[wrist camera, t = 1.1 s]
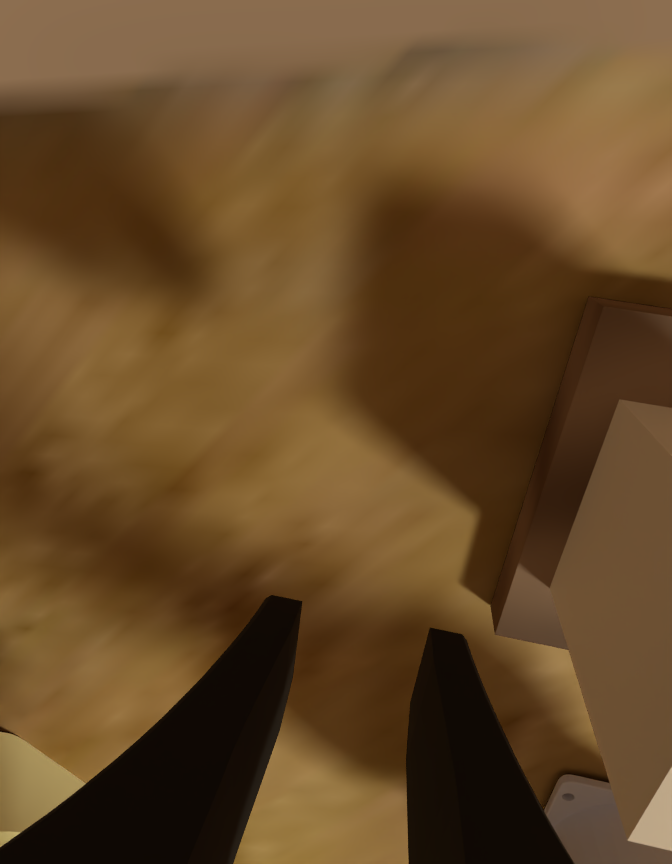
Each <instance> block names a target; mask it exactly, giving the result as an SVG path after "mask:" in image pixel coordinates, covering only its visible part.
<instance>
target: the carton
mask: <svg viewBox="0 0 672 864" xmlns="http://www.w3.org/2000/svg"><path fill="white" fill-rule="evenodd" d="M550 591H551V594H552V598H553V601H554V604H555V607H556V611H557V614H558V617H559V620H560V624H561V627H562V630H563V633H564V637H565V640H566V643H567V646H568V650H569V653H570V656H571V659H572V662H573V666H574V669H575V672H576V675H577V679H578V682H579V685H580V688H581V692H582V695H583V698H584V701H585V705H586V708H587V711H588V714H589V718H590V721H591V724H592V727H593V731H594V734H595V737H596V740H597V744H598V747H599V750H600V753H601V757H602V760H603V763H604V766H605V770H606V773H607V776H608V779H609V782H610V786H611V789H612V792H613V795H614V799H615V802H616V805H617V808H618V812H619V815H620V818H621V821H622V825H623V828H624V831H625V834H626V838H627V841H631V842H636V843H640V844H644V845H648V846H653V847H657V848H661V849H666V850H670V851H672V408H669V407H663V406H657V405H651V404H645V403H639V402H633V401H627V400H620V399H619V402H618V404H617V407H616V410H615V413H614V415H613V418H612V421H611V423H610V426H609V429H608V432H607V434H606V437H605V440H604V442H603V445H602V448H601V450H600V453H599V456H598V459H597V461H596V464H595V467H594V469H593V472H592V475H591V477H590V480H589V483H588V486H587V488H586V491H585V494H584V496H583V499H582V502H581V505H580V507H579V510H578V513H577V515H576V518H575V521H574V523H573V526H572V529H571V532H570V534H569V537H568V540H567V542H566V545H565V548H564V550H563V553H562V556H561V559H560V561H559V564H558V567H557V569H556V572H555V575H554V578H553V580H552V583H551V586H550Z"/></svg>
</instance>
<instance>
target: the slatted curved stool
mask: <svg viewBox="0 0 672 864" xmlns="http://www.w3.org/2000/svg"><path fill="white" fill-rule="evenodd" d="M85 784H86V783H85V782H83V781H82V780H80V779H79V778H77V777H76V776H75V775H73V774H72V773H70V772H69V771H67V770H66V769H65V768H63V767H62V766H60V765H59V764H57V763H56V762H55V761H53V760H52V759H50V758H49V757H47V756H46V755H45V754H43V753H42V752H40V751H39V750H37V749H36V748H35V747H33V746H32V745H30V744H29V743H27V742H26V741H25V740H23V739H21V738H20V737H18V736H15V735H13V734H9V733H4V732H0V847H1V846H3V845H4V844H5V843H7V842H8V841H10V840H11V839H12V838H14V837H15V836H17V835H18V834H19V833H21V832H22V831H24V830H25V829H26V828H28V827H29V826H31V825H32V824H34V823H35V822H36V821H38V820H39V819H41V818H42V817H43V816H45V815H46V814H48V813H49V812H50V811H52V810H53V809H54V808H56V807H57V806H58V805H59V804H61V803H62V802H63V801H65V800H66V799H67V798H69V797H70V796H71V795H72V794H74V793H75V792H76V791H78V790H79V789H80V788H81V787H82V786H84V785H85Z"/></svg>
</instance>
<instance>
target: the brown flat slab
mask: <svg viewBox="0 0 672 864" xmlns="http://www.w3.org/2000/svg"><path fill="white" fill-rule="evenodd" d="M619 399H620V400H627V401H633V402H639V403H645V404H651V405H657V406H663V407H669V408H672V309H669V308H662V307H655V306H649V305H642V304H635V303H629V302H622V301H615V300H609V299H602V298H595V297H588V300H587V304H586V307H585V310H584V313H583V316H582V319H581V323H580V326H579V329H578V332H577V335H576V338H575V341H574V345H573V348H572V351H571V354H570V357H569V360H568V364H567V367H566V370H565V373H564V376H563V379H562V382H561V386H560V389H559V392H558V395H557V398H556V401H555V405H554V408H553V411H552V414H551V417H550V420H549V424H548V427H547V430H546V433H545V436H544V439H543V442H542V446H541V449H540V452H539V455H538V458H537V461H536V465H535V468H534V471H533V474H532V477H531V480H530V483H529V487H528V490H527V493H526V496H525V499H524V502H523V506H522V509H521V512H520V515H519V518H518V521H517V524H516V528H515V531H514V534H513V537H512V540H511V543H510V547H509V550H508V553H507V556H506V559H505V562H504V566H503V569H502V572H501V575H500V578H499V581H498V584H497V588H496V591H495V594H494V597H493V600H492V603H491V612H492V619H493V625H494V632H495V635H499V636H504V637H508V638H513V639H518V640H523V641H528V642H533V643H538V644H543V645H547V646H552V647H557V648H562V649H567V650H568V646H567V643H566V640H565V637H564V633H563V630H562V627H561V624H560V620H559V617H558V614H557V611H556V607H555V604H554V601H553V598H552V594H551V591H550V586H551V583H552V580H553V578H554V575H555V572H556V569H557V567H558V564H559V561H560V559H561V556H562V553H563V550H564V548H565V545H566V542H567V540H568V537H569V534H570V532H571V529H572V526H573V523H574V521H575V518H576V515H577V513H578V510H579V507H580V505H581V502H582V499H583V496H584V494H585V491H586V488H587V486H588V483H589V480H590V477H591V475H592V472H593V469H594V467H595V464H596V461H597V459H598V456H599V453H600V450H601V448H602V445H603V442H604V440H605V437H606V434H607V432H608V429H609V426H610V423H611V421H612V418H613V415H614V413H615V410H616V407H617V404H618V402H619Z"/></svg>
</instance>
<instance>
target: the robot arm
mask: <svg viewBox="0 0 672 864" xmlns="http://www.w3.org/2000/svg"><path fill="white" fill-rule="evenodd" d="M301 607H302V601H298V600H293V599H288V598H283V597H278V596H274V595H271V596H269V597H268V598H266V599H265V600H264V602H263V603H262V605H261V606H260V608H259V609H258V611H257V612H256V613H255V615H254V616H253V618H252V619H251V620H250V622H249V623H248V624H247V625H246V627H245V628H244V629H243V631H242V632H241V633H240V634H239V635H238V637H237V638H236V639H235V640H234V642H233V643H232V644H231V645H230V646H229V648H228V649H227V650H226V651H225V652H224V653H223V654H222V655H221V657H220V658H219V659H218V660H217V661H216V662H215V663H214V664H213V666H212V667H211V668H210V669H209V670H208V671H207V672H206V674H205V675H204V676H203V677H202V678H201V679H200V680H199V681H198V682H197V683H196V684H195V685H194V686H193V687H192V688H191V689H190V690H189V691H188V692H187V693H186V694H185V695H184V696H183V697H182V698H181V699H180V700H179V701H178V702H177V703H176V704H175V705H174V706H173V707H172V708H171V709H170V710H169V711H168V712H167V713H166V714H165V715H164V716H163V717H162V718H161V719H160V720H159V721H158V722H157V723H156V724H155V725H154V726H153V727H152V728H151V729H149V730H148V731H147V732H146V733H145V734H144V735H143V736H142V737H141V738H140V739H139V740H137V741H136V742H135V743H134V744H133V745H132V746H131V747H129V748H128V749H127V750H126V751H125V752H124V753H123V754H121V755H120V756H119V757H118V758H117V759H116V760H114V761H113V762H112V763H111V764H110V765H108V766H107V767H106V768H105V769H103V770H102V771H101V772H100V773H99V774H97V775H96V776H95V777H94V778H92V779H91V780H90V781H89V782H87V783H86V784H85V785H84V786H82V787H81V788H80V789H79V790H78V791H76V792H75V793H74V794H72V795H71V796H70V797H69V798H67V799H66V800H65V801H63V802H62V803H61V804H59V805H58V806H57V807H56V808H54V809H53V810H52V811H50V812H49V813H48V814H46V815H45V816H43V817H42V818H41V819H39V820H38V821H36V822H35V823H34V824H32V825H31V826H29V827H28V828H26V829H25V830H24V831H22V832H21V833H19V834H18V835H17V836H15V837H14V838H12V839H11V840H10V841H8V842H7V843H5V844H4V845H3V846H1V847H0V864H233V862H234V859H235V856H236V853H237V850H238V848H239V845H240V842H241V839H242V836H243V833H244V831H245V828H246V825H247V822H248V819H249V816H250V813H251V811H252V808H253V805H254V802H255V799H256V796H257V794H258V791H259V788H260V785H261V782H262V779H263V776H264V774H265V771H266V768H267V765H268V762H269V759H270V756H271V754H272V751H273V748H274V745H275V742H276V739H277V736H278V733H279V731H280V727H281V723H282V719H283V715H284V711H285V707H286V703H287V699H288V694H289V690H290V686H291V682H292V678H293V671H294V663H295V655H296V647H297V639H298V631H299V623H300V615H301ZM406 774H407V816H408V853H409V864H672V851H670V850H666V849H661V848H657V847H653V846H648V845H644V844H640V843H636V842H631V841H627V838H626V834H625V831H624V828H623V825H622V821H621V818H620V815H619V812H618V808H617V805H616V802H615V799H614V795H613V792H612V789H611V786H610V783H607V782H603V781H598V780H594V779H589V778H585V777H581V776H576V775H570V774H567V775H563V776H561V777H560V778H559V779H558V781H557V783H556V786H555V788H554V790H553V792H552V794H551V796H550V798H549V801H548V803H547V805H546V807H545V809H544V810H543V808H542V807H541V805H540V803H539V801H538V799H537V797H536V795H535V793H534V792H533V790H532V788H531V786H530V784H529V782H528V780H527V778H526V777H525V775H524V773H523V771H522V769H521V767H520V765H519V763H518V761H517V759H516V757H515V755H514V753H513V750H512V748H511V746H510V744H509V742H508V740H507V738H506V736H505V733H504V731H503V729H502V727H501V725H500V723H499V721H498V719H497V716H496V714H495V712H494V709H493V707H492V705H491V703H490V700H489V698H488V695H487V693H486V691H485V688H484V686H483V683H482V681H481V679H480V676H479V673H478V671H477V668H476V666H475V663H474V660H473V658H472V655H471V652H470V649H469V646H468V643H467V640H466V639H465V638H464V636H463V635H462V634H458V633H453V632H448V631H443V630H438V629H434V628H430V629H429V633H428V637H427V641H426V645H425V648H424V652H423V656H422V660H421V664H420V668H419V671H418V675H417V679H416V683H415V687H414V691H413V694H412V698H411V702H410V714H409V726H408V740H407V755H406Z"/></svg>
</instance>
